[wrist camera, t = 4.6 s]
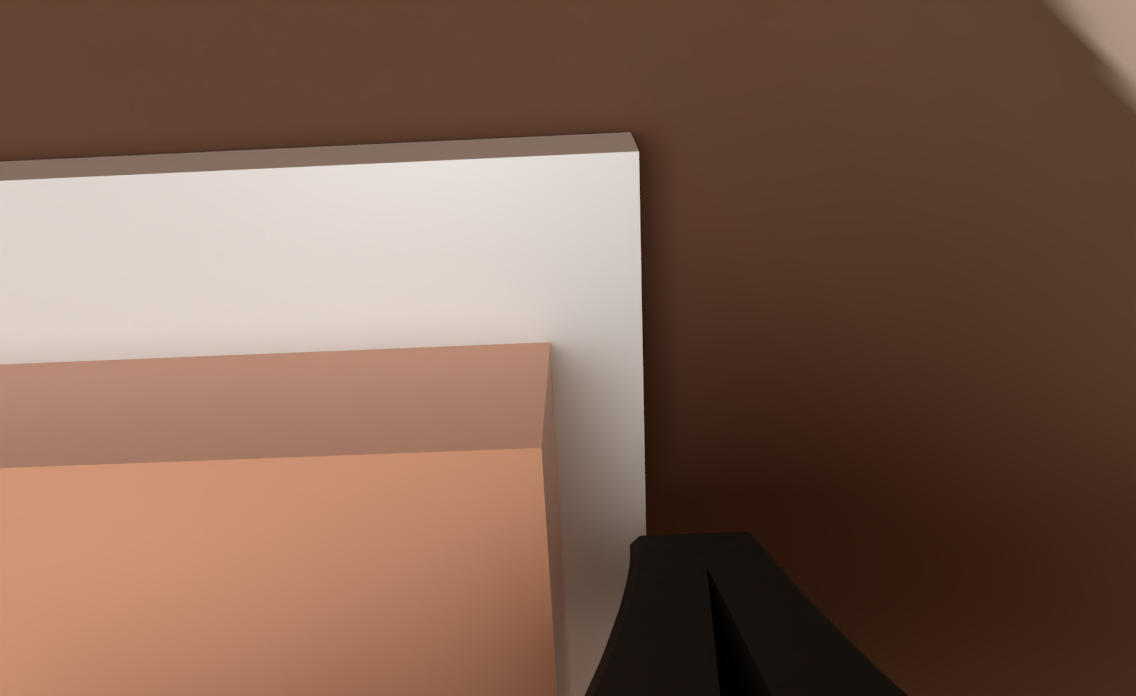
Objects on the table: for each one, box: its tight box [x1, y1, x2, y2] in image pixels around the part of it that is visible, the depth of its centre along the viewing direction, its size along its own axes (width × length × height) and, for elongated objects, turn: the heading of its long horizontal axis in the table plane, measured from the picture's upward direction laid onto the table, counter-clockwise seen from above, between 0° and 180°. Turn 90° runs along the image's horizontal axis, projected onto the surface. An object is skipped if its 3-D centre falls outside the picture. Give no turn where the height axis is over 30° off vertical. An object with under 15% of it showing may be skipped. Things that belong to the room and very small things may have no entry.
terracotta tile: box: [0, 342, 571, 696], centre depth 10 cm, size 6×8×2 cm
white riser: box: [0, 132, 646, 696], centre depth 12 cm, size 10×10×2 cm
